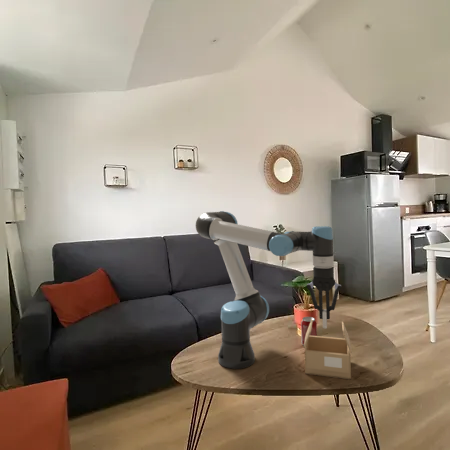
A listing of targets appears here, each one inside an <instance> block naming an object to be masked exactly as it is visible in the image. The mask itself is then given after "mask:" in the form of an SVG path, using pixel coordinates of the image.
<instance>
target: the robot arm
mask: <svg viewBox="0 0 450 450" xmlns="http://www.w3.org/2000/svg"><path fill="white" fill-rule="evenodd" d="M195 230H196V232H197V234H198V235H199V236H200V237H201V238H204V239H209V240H212V242H213V243H214V245H217V246H218V249H219V251H220V254H221V256H222V259H223V262H224V264H225V267H226V271H227V273H228V276H229V279H230V281H231V284H232V287H233V290H234V292H235V297H234V300H233V301H228V302H226V303H224V304H222V307H221V309H220V325H221V328H220V329H221V344H220V346H219V347H220V348H219V352H218V355H217V358H218V359H217V360H218V364H219V365H221V366H222V367H224V368H227V369H233V370H234V369H235V370H239V369H244V368H245V369H246V368H248V367H250V366H252V365H253V364H255V360H256V359H255V358H256V356H255V355H256V354H255V352H254V348H253V347H252V346H253V345H252V343H251V336H250V333H251V332H250V330H251V329H253V328H255V327H256V326H258V325H260V324H261V323H263V322H264V321H265V320H266V319H267V318H268V316H269V313H270V304H269V303H268V300H267V299H266V298H265V297H263V295H261V294H260V291H259V290H257V289H255V287H254V284H253V282H252V280H251V277H250V274H249V272H248V269H247V266H246V263H245V261H244V258H243V255H242V252H241V250H240V247H239V245H243V246H247V247H250V248H256V249H258V250H263V251H267V252H270V253H272V254H273V255H275V256H276V257H284V256H288V255H289V254H292V253H295V252H299V251H305V252H306V251H307V252H308V251H310V252H311V251H312V265H313V268H312V269H313V271H312V273H313V274H312V275H313V278H312V280H311V282H310V283H307V284H306V288H307V289H308V290H309V291H308V292H309V293H310V298H311V300H312V303H313V308H314V310H318V312H319V314H318V315H319V319H320V320H322V329H327V328H328V320H330V318H331V313H330V312H331V311H335V308H336V304H337V301H338V296H339V292H340V290H341V289H342V284H339V283H337V281H336V280H335V269H334V263H335V262H334V261H335V260H334V236H333V227H331V226H325V225H324V226H323V225H321V226H312V229H311V231H295V230H294V231H293V230H291V231H285V232H284V233H282V232H276V231H271V230H266V229H263V228H257V227H252V226H247V225H242V224H239V223H238V220H237V218H236V217H235V215H234V214H233V213H231V212H228V211H224V210H222V211H209V212H208V211H207V212H204V213H202V214H201V215H199V216H198V218H197V219H196V221H195ZM238 244H239V245H238ZM314 287H315V288H316V289H317V290H318V302H317V298H316V295H315V291H314ZM332 288H334V293H333V297H332V302H331V305H330V291H331V290H332ZM323 292H325V303H326V304H325V307H326V309H325V308H323V307H324V306H323V305H324V304H323V302H324V301H323Z"/></svg>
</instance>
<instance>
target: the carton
mask: <svg viewBox="0 0 450 450" xmlns="http://www.w3.org/2000/svg"><path fill="white" fill-rule="evenodd" d="M351 357H352V356H351V353H350V351H349V348H348V346H347V343H346V341H345V338H344V337H343V338H342V337H331V336H322V335H321V336H319V335H317V336H311V335H310V336H309V338H308V341H307V344H306V346H305V348H304V374H306V375H312V376H320V377H327V378H336V379H342V380H343V379H344V380H352V371H351V369H352V368H351V364H352V362H351V361H352V360H351Z"/></svg>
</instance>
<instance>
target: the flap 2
mask: <svg viewBox="0 0 450 450" xmlns="http://www.w3.org/2000/svg"><path fill="white" fill-rule="evenodd" d="M341 326H342V327H341V328H342V329H341V330H342V334H343V335H342V336H343V338H344V339H345V341H346V343H347V346H348V348H349V351H350V354H351V353H352V352H353V351H352V346H351V339H350V336H349V333H348V331H347V328H346V326H345V323H344V321H341Z"/></svg>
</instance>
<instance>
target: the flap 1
mask: <svg viewBox="0 0 450 450" xmlns="http://www.w3.org/2000/svg"><path fill="white" fill-rule="evenodd" d="M312 321H313V320H312V319H311V322H310V325H309V327H308V330H307V333H306V336H305V342H304V345H303V348H304V349H305V346H306V344H307V341H308V338H309V336H310V333H311V328H312Z"/></svg>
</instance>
